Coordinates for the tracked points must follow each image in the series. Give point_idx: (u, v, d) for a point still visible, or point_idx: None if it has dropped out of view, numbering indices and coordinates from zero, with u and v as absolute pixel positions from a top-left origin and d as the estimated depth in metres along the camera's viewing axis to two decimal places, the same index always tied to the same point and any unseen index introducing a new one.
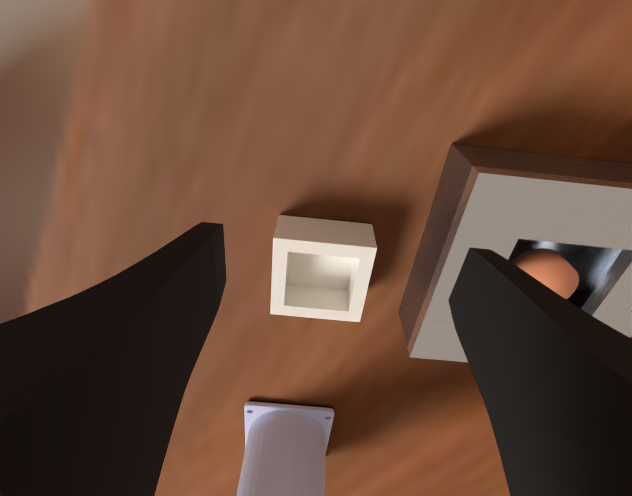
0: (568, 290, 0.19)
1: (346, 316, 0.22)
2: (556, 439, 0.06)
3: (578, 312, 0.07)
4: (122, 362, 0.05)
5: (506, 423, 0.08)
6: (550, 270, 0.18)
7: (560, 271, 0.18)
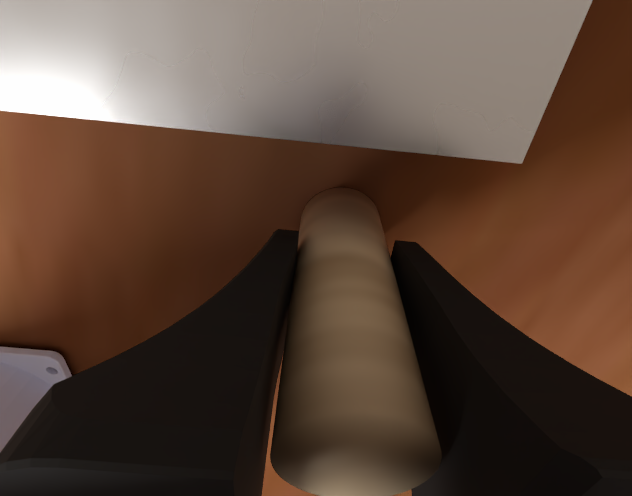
0: None
1: None
2: (440, 430, 0.06)
3: (474, 303, 0.07)
4: (265, 374, 0.05)
5: None
6: None
7: None
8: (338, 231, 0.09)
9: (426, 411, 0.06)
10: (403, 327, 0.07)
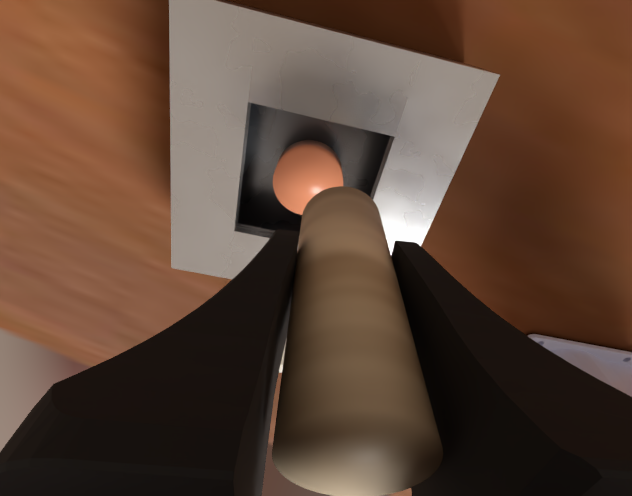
0: (315, 158, 0.15)
1: None
2: (440, 430, 0.06)
3: (474, 303, 0.07)
4: (265, 374, 0.05)
5: None
6: (282, 185, 0.16)
7: (284, 174, 0.16)
8: (338, 230, 0.09)
9: (427, 408, 0.06)
10: (403, 324, 0.07)
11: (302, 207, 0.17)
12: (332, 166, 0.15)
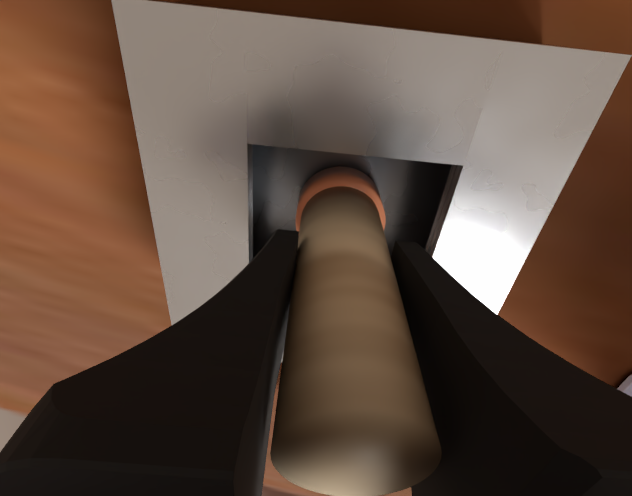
0: None
1: None
2: (440, 430, 0.06)
3: (474, 303, 0.07)
4: (265, 374, 0.05)
5: None
6: None
7: None
8: (337, 230, 0.09)
9: (425, 407, 0.06)
10: (402, 324, 0.07)
11: None
12: None
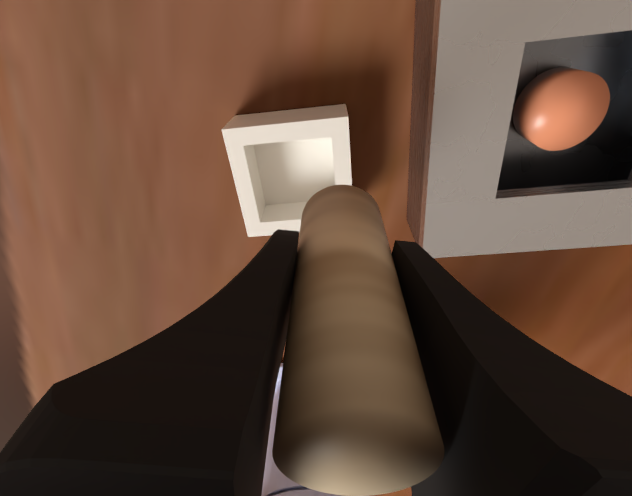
0: (598, 111, 0.15)
1: None
2: (440, 430, 0.06)
3: (474, 303, 0.07)
4: (265, 374, 0.05)
5: None
6: (567, 85, 0.14)
7: (581, 84, 0.14)
8: (340, 227, 0.09)
9: (429, 407, 0.06)
10: (405, 323, 0.07)
11: (537, 115, 0.15)
12: (587, 132, 0.15)
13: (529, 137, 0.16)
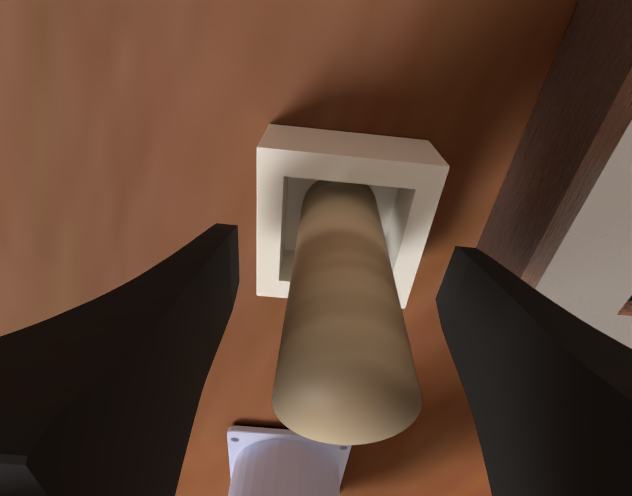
0: None
1: None
2: (534, 437, 0.06)
3: (558, 310, 0.07)
4: (149, 365, 0.05)
5: (488, 422, 0.08)
6: None
7: None
8: (337, 212, 0.10)
9: (409, 361, 0.06)
10: (392, 294, 0.08)
11: None
12: None
13: None
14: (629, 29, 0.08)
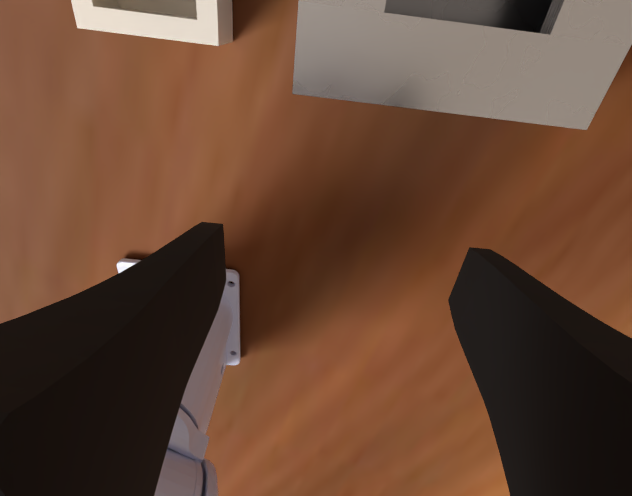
0: None
1: (195, 32, 0.14)
2: (556, 439, 0.06)
3: (578, 312, 0.07)
4: (122, 362, 0.05)
5: (506, 423, 0.08)
6: None
7: None
8: None
9: None
10: None
11: None
12: None
13: None
14: None
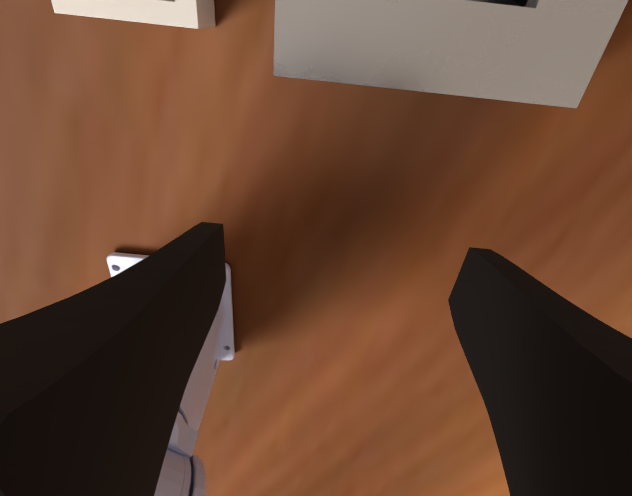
0: None
1: (174, 14, 0.14)
2: (556, 439, 0.06)
3: (578, 312, 0.07)
4: (122, 362, 0.05)
5: (506, 423, 0.08)
6: None
7: None
8: None
9: None
10: None
11: None
12: None
13: None
14: None
